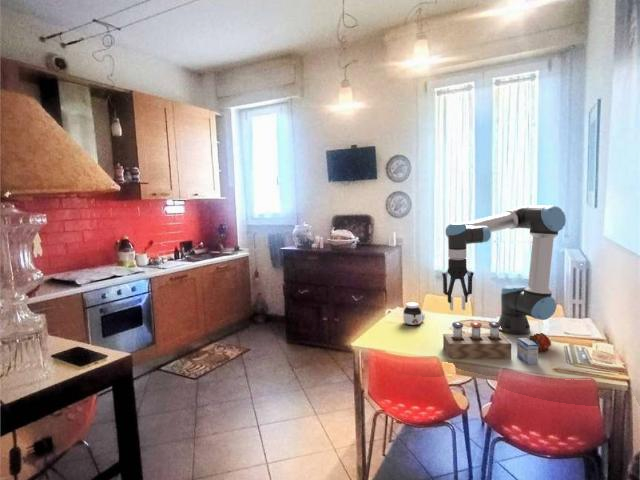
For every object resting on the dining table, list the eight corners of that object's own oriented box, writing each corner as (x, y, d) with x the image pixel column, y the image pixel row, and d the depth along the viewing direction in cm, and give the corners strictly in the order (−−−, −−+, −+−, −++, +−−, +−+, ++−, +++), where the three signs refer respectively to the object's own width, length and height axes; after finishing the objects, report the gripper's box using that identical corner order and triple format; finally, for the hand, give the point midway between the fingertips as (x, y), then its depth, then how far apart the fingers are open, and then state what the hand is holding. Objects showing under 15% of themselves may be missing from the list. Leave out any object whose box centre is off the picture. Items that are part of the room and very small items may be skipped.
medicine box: (516, 357, 167) (517, 338, 166) (526, 356, 168) (526, 337, 167) (528, 364, 160) (528, 345, 159) (538, 364, 160) (538, 344, 159)
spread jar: (403, 326, 212) (403, 305, 210) (403, 319, 223) (403, 300, 221) (425, 327, 209) (425, 306, 208) (424, 320, 220) (424, 300, 219)
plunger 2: (479, 340, 174) (479, 321, 173) (482, 344, 170) (483, 325, 169) (469, 340, 175) (469, 321, 174) (472, 344, 170) (472, 325, 169)
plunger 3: (497, 340, 174) (497, 321, 172) (501, 344, 169) (501, 324, 168) (487, 340, 174) (487, 321, 173) (490, 344, 169) (490, 325, 168)
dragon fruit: (534, 358, 169) (539, 352, 178) (552, 350, 165) (557, 345, 174) (522, 340, 172) (528, 335, 181) (540, 332, 168) (545, 328, 177)
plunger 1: (461, 340, 175) (461, 322, 174) (464, 344, 170) (464, 325, 169) (451, 341, 175) (451, 322, 174) (453, 345, 171) (453, 325, 170)
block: (500, 347, 178) (500, 333, 177) (511, 358, 166) (511, 343, 165) (443, 348, 180) (443, 334, 179) (449, 359, 168) (449, 344, 167)
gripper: (475, 256, 171) (475, 306, 174) (435, 257, 173) (435, 307, 176) (480, 259, 164) (480, 311, 167) (438, 260, 165) (439, 312, 168)
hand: (457, 309), depth 171 cm, fingers open, 4 cm apart
